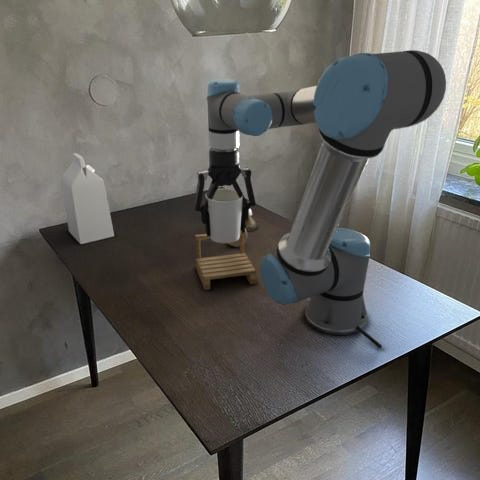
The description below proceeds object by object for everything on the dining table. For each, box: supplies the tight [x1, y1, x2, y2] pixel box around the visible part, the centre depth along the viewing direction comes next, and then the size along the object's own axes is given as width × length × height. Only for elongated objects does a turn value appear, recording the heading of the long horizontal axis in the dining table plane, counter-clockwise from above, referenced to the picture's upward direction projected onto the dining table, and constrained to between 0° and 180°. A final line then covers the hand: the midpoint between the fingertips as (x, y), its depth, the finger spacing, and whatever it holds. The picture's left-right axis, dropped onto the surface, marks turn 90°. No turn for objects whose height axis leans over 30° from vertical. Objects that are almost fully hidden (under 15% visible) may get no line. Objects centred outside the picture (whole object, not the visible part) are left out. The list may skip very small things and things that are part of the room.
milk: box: [61, 152, 115, 245], centre depth 164 cm, size 12×12×26 cm
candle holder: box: [205, 188, 244, 244], centre depth 136 cm, size 10×10×12 cm
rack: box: [195, 231, 257, 291], centre depth 144 cm, size 13×15×11 cm
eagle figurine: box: [245, 208, 257, 232], centre depth 175 cm, size 8×7×9 cm
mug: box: [227, 228, 248, 248], centre depth 164 cm, size 8×10×10 cm
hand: (225, 232), depth 138 cm, fingers closed on candle holder, 9 cm apart
